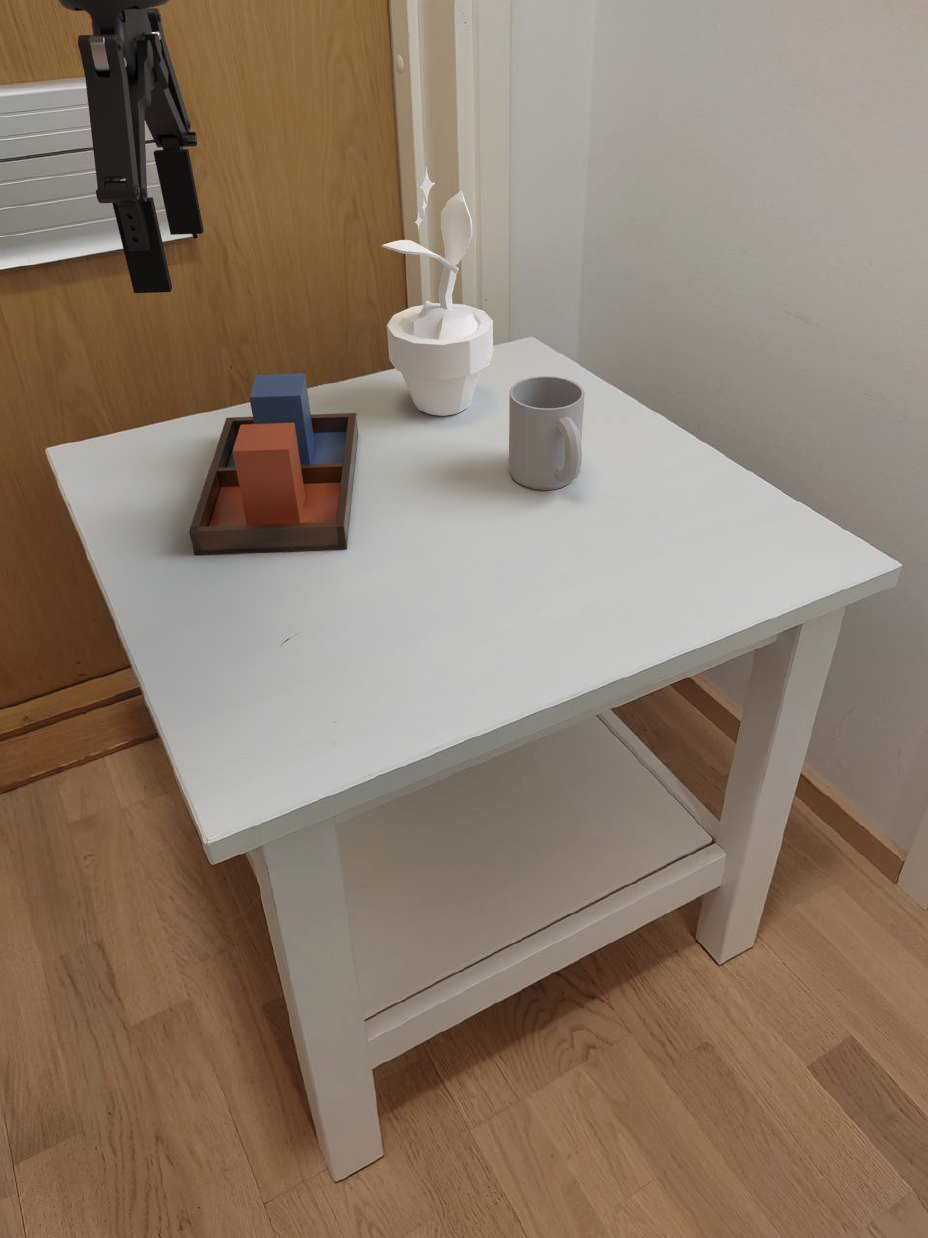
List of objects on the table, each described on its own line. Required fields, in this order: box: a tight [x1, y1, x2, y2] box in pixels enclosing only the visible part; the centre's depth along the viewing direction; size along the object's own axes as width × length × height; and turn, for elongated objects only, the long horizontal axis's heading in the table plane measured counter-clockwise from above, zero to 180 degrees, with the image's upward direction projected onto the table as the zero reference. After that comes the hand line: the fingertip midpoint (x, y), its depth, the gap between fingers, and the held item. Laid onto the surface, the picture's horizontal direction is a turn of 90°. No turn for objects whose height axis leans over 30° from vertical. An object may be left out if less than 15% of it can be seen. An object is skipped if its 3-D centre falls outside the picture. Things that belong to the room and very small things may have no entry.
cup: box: [508, 375, 586, 491], centre depth 94 cm, size 7×10×9 cm
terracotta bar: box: [233, 423, 305, 525], centre depth 89 cm, size 5×5×8 cm
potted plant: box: [381, 166, 494, 417], centre depth 102 cm, size 13×12×25 cm
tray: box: [188, 412, 359, 556], centre depth 95 cm, size 14×22×3 cm, turn 2°
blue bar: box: [249, 372, 314, 465], centre depth 97 cm, size 5×5×8 cm
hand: (171, 260), depth 77 cm, fingers open, 13 cm apart
